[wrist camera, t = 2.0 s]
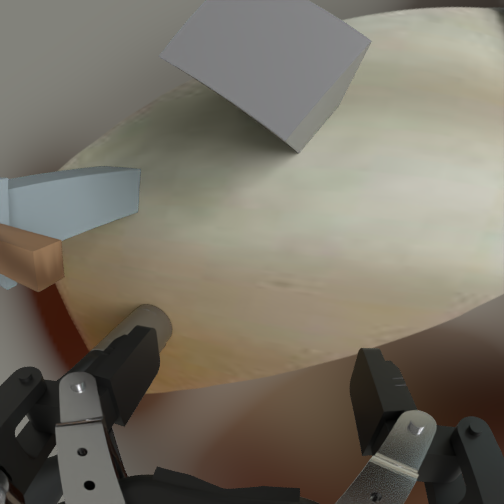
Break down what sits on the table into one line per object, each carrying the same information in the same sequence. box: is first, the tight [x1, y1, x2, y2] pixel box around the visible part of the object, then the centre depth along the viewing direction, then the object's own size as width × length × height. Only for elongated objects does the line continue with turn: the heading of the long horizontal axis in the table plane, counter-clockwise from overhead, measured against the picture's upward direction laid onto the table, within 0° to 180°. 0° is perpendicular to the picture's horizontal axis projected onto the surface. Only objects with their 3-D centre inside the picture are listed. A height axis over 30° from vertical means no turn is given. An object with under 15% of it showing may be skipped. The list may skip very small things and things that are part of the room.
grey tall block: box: [159, 0, 372, 153], centre depth 30 cm, size 12×10×27 cm
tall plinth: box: [0, 166, 141, 290], centre depth 36 cm, size 11×12×32 cm
